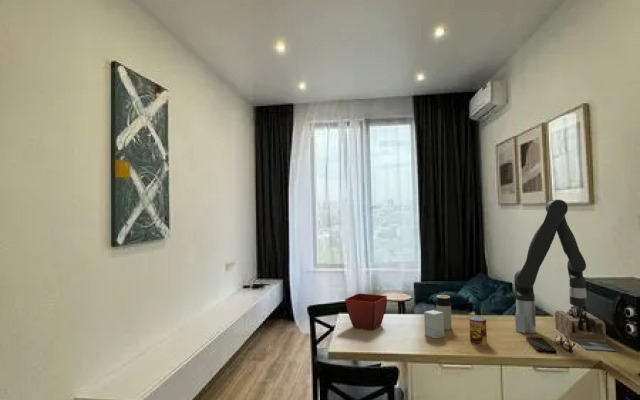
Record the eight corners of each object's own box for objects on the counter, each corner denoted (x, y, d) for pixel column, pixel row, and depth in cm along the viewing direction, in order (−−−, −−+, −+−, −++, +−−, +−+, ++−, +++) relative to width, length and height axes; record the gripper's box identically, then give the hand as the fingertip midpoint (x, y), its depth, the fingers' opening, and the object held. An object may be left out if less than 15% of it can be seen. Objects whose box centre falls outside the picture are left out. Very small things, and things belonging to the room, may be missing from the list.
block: (586, 330, 201) (585, 320, 201) (575, 329, 202) (575, 320, 202) (583, 328, 205) (582, 318, 205) (572, 327, 206) (572, 318, 206)
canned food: (467, 342, 195) (466, 318, 196) (475, 338, 200) (474, 315, 201) (481, 346, 189) (480, 321, 190) (490, 342, 194) (489, 318, 194)
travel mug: (453, 330, 216) (452, 297, 217) (439, 330, 216) (438, 297, 217) (449, 325, 224) (448, 294, 225) (435, 326, 224) (434, 294, 225)
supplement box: (444, 336, 205) (443, 312, 206) (434, 338, 201) (434, 314, 202) (434, 332, 211) (433, 309, 212) (424, 335, 208) (423, 311, 208)
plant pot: (344, 328, 223) (344, 298, 224) (359, 320, 239) (358, 293, 240) (375, 333, 213) (374, 302, 214) (388, 324, 229) (387, 295, 230)
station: (620, 352, 178) (619, 330, 178) (581, 349, 182) (580, 328, 182) (588, 330, 211) (587, 311, 212) (555, 328, 215) (555, 310, 216)
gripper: (564, 293, 212) (566, 324, 211) (575, 298, 198) (576, 332, 197) (580, 293, 210) (581, 325, 209) (591, 299, 196) (593, 333, 196)
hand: (579, 328), depth 203 cm, fingers closed on block, 4 cm apart
